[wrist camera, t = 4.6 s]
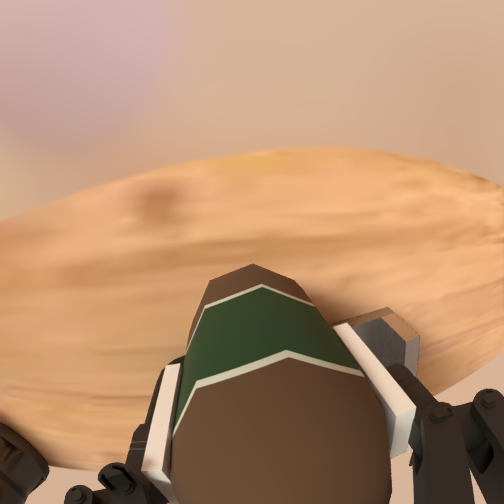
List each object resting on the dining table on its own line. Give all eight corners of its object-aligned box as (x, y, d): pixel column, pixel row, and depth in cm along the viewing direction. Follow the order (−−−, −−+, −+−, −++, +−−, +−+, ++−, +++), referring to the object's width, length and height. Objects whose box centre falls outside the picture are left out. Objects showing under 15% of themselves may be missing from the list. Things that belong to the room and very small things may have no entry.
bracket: (285, 426, 31) (295, 466, 25) (265, 341, 28) (274, 383, 22) (385, 395, 31) (407, 428, 25) (387, 307, 28) (419, 336, 22)
